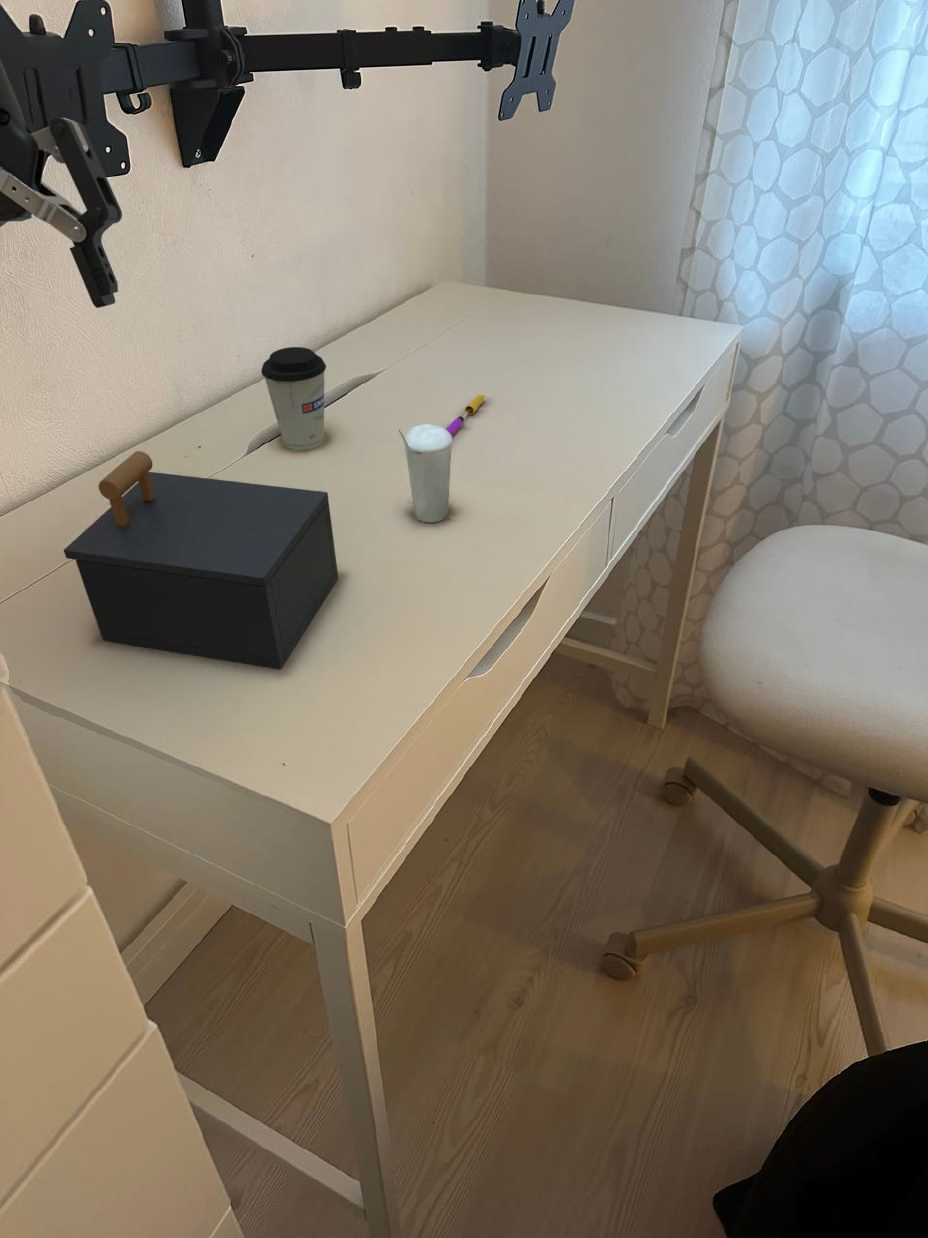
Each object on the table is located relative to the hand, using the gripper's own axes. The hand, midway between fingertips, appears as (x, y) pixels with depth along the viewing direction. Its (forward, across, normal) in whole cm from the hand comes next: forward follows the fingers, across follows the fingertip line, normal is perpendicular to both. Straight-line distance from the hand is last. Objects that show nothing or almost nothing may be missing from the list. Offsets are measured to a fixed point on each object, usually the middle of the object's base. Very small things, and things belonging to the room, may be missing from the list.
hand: (46, 323), depth 58 cm
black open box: (+25, 0, +9) cm, 27 cm away
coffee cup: (+19, +4, +40) cm, 44 cm away
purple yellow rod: (+22, +21, +43) cm, 52 cm away
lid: (+17, +2, +8) cm, 19 cm away
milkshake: (+26, +18, +24) cm, 39 cm away
